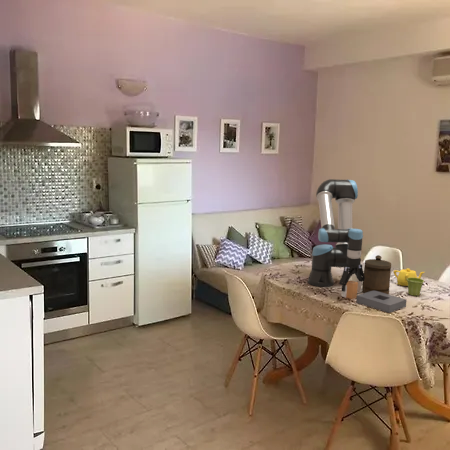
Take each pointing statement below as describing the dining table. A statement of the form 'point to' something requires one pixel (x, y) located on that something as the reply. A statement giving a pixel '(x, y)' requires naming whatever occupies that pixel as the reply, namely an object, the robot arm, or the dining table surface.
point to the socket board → (381, 301)
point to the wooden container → (376, 275)
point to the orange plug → (351, 289)
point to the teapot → (406, 276)
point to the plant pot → (414, 286)
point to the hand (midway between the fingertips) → (351, 294)
